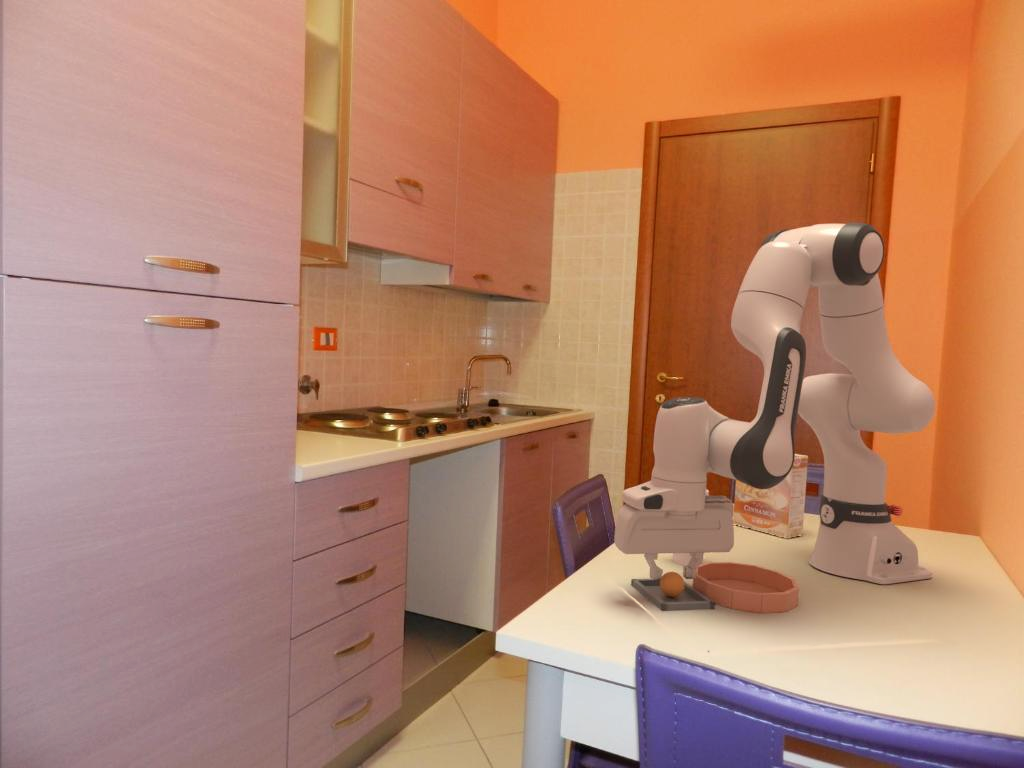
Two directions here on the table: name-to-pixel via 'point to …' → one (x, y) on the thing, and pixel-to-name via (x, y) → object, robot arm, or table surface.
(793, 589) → the bowl
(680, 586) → the ball
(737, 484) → the coffeecake box
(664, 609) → the tray
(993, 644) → the table surface
